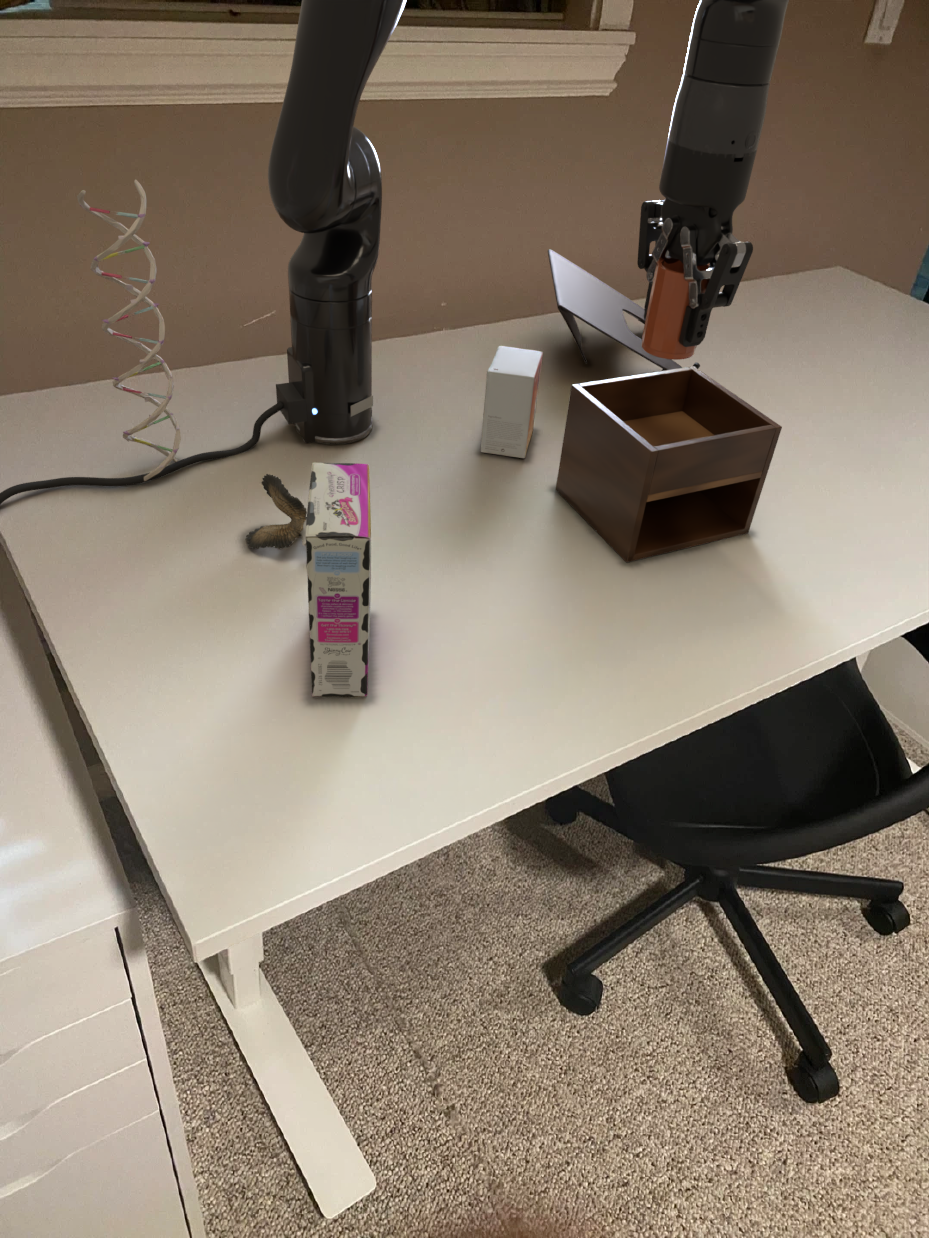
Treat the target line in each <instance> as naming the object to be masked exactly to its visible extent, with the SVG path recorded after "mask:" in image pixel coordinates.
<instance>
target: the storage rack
mask: <svg viewBox="0 0 929 1238" xmlns="http://www.w3.org/2000/svg"><path fill="white" fill-rule="evenodd" d="M782 429H783V426H782V425H780V424H778V423H777V422H776V421H774V420H773V419H771V418H770V417H769V416H767V415H765V414H764V413H763V412H761V411H760V410H758V409H757V408H755V407H754V406H752V405H751V404H750V403H748V402H747V401H745V400H744V399H742V398H741V397H740V396H739V395H736V394H735V393H734V392H732V390H731V391H730V389H728V388H726V386H723V385H722V384H720V383H719V382H718V381H717V380H715V379H714V378H712V377H710V376H709V375H707V374H706V373H704V372H703V371H702V370H700V368H698V369H697V368H696V367H694V366H693V365H692V366H688V367H687V366H686V367H682V368H679V369H672V370H666V371H662V370H659V371H653V372H647V373H646V372H645V373H640V374H634V375H627V376H619V377H614V378H608V379H607V378H606V379H601V380H593V381H588V382H580V383H574V384H573V383H572V384H571V387H570V393H569V399H568V407H567V411H566V419H565V425H564V431H563V437H562V445H561V452H560V459H559V465H558V471H557V478H556V485H555V491H556V493H558V494H559V495H560V496H561V498H563V499H564V500H565V502H566V503H568V504H569V505H570V507H572V508H573V510H574V511H576V512H577V514H578V515H579V516H580V517H581V518H582V519H583V520H584V521H585V522H586V523H588V525H589V526H590V527H591V528H592V529H593V530H594V531H595V532H596V533H597V534H598V535H599V536H600V537H601V538H602V539H603V540H604V541H605V542H606V543H607V545H609V546H610V547H611V549H612V550H614V551H615V552H616V553H617V555H619V556H620V557H621V558H622V559H623V560H624V562H625V563H632V562H635V561H639V560H643V559H646V558H652V557H656V556H660V555H663V554H667V553H672V552H676V551H680V550H684V549H689V548H693V547H697V546H701V545H705V544H709V543H714V542H717V541H721V540H726V539H730V538H734V537H738V536H742V535H746V534H749V532H750V528H751V527H752V526H751V525H752V523H753V519H754V517H755V513H756V510H757V507H758V503H759V501H760V497H761V495H762V491H763V489H764V485H765V482H766V479H767V475H768V472H769V469H770V466H771V463H772V460H773V458H774V454H775V450H776V447H777V445H778V441H779V438H780V435H781V432H782Z"/></svg>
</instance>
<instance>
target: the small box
mask: <svg viewBox="0 0 929 1238" xmlns="http://www.w3.org/2000/svg"><path fill="white" fill-rule="evenodd" d="M496 348H497V349H496V351H495V354H494V356H493V359H492V361H491V364H490V366H489V367H488V369H487V371H486V379H485V380H486V381H485V392H484V393H485V394H484V403H483V414H482V415H483V416H482V427H481V440H480V452H481V453H485V454H493V455H498V456H506V457H512V458H517V459H519V458H520V459H525V458H526V456H527V451H528V448H529V445H530V441H531V439H532V436H533V432H534V428H535V427H534V425H535V417H536V411H537V410H536V408H537V403H538V395H539V386H540V380H541V371H542V363H543V355H544V352H543V351H539V350H534V349H527V348H520V347H513V346H506V345H498V346H497V347H496Z"/></svg>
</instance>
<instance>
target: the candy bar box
mask: <svg viewBox="0 0 929 1238" xmlns="http://www.w3.org/2000/svg"><path fill="white" fill-rule="evenodd" d="M310 471H311V472H310V479H309V489H308V500H307V507H306V511H307V514H306V517H307V520H306V534H305V537H306V545H305V547H306V574H307V575H306V576H307V596H308V597H307V598H308V599H307V603H308V629H309V630H308V631H309V653H310V655H309V656H310V679H311V682H310V683H311V693H310V694H311V695H310V696H311V697H312V698H351V699H353V698H366V697H367V696H368V690H369V689H368V688H369V687H368V686H369V667H370V666H369V665H370V635H371V634H370V633H371V600H372V599H371V598H372V597H371V596H372V595H371V593H372V591H371V589H372V517H371V516H372V515H371V512H372V511H371V485H370V484H371V483H370V481H371V479H370V464H369V463H357V462H356V463H353V462H312V463H311V469H310Z"/></svg>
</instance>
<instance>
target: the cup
mask: <svg viewBox="0 0 929 1238" xmlns="http://www.w3.org/2000/svg"><path fill="white" fill-rule="evenodd" d="M709 265H710V263H708V264H706V265H703V266H697V269H698V270H699V271H705V270H707V269H708V268H709ZM688 284H689V283H688V282H687V281H685V279H684V270H683V263H682V262H681V261H680V260H679V261H677V262H675V263H671V264H668V263H666V262H665V261H664V259H663V260H658V261H657V264H656V269H655V274H654V279H653V284H652V289H651V294H650V300H649V305H648V310H647V315H646V320H645V325H644V324H643V331H642V335H641V339H642V344H641V346H642V348H643V349H644V350H645V351H646V352H647V353H649V354H651V355H654V356H656V357H660V358H665V359H672V360H673V361H678V360H679V361H681V360H686V359H690V358H691V357H693V356H695V355H694V354H695V353H696V349H697V347H698V345H697V346H690V347H684V346H683V345H681V344H680V343H679V338H680V333H681V329H682V324H683V320H684V315H685V311H686V306H689V293H688ZM706 284H707V279H703V280H702V281H701V293H705V291H706Z"/></svg>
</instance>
